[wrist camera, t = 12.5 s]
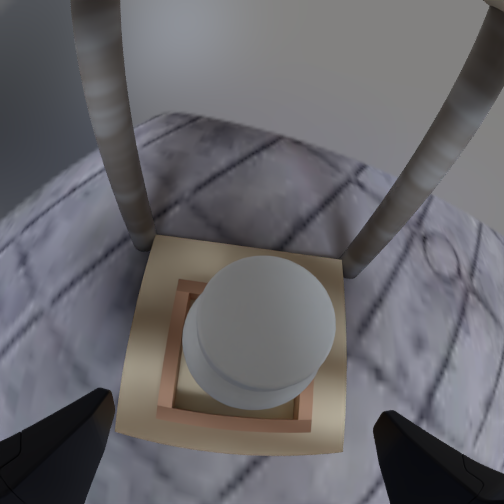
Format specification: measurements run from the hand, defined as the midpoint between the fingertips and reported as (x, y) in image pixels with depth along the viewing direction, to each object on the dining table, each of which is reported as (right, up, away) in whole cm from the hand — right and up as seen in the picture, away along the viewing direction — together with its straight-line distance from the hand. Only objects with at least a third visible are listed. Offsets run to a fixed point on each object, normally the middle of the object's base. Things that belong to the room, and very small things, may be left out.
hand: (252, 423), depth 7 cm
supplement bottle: (-1, -1, +9) cm, 9 cm away
